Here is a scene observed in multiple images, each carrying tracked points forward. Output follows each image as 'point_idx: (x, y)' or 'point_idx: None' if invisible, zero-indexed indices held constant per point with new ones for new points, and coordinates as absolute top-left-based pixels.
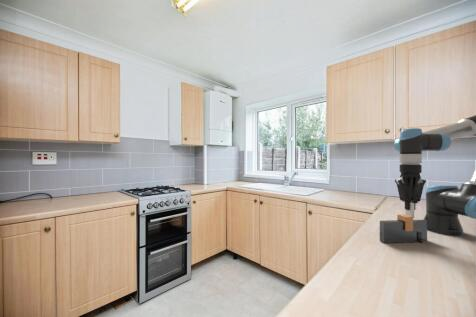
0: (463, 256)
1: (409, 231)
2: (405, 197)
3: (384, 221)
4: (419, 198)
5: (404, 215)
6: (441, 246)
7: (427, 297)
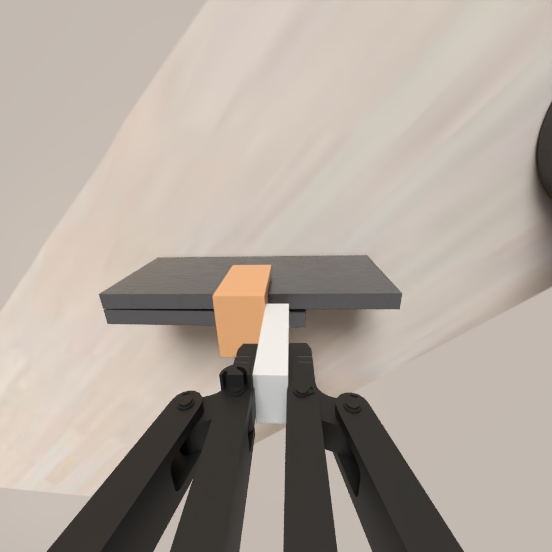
0: (347, 379)
1: None
2: (176, 478)
3: (118, 310)
4: (357, 469)
5: (242, 322)
6: (364, 315)
7: (105, 477)
